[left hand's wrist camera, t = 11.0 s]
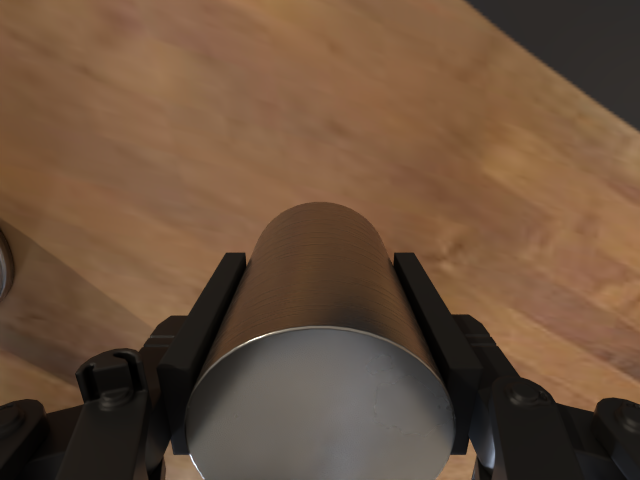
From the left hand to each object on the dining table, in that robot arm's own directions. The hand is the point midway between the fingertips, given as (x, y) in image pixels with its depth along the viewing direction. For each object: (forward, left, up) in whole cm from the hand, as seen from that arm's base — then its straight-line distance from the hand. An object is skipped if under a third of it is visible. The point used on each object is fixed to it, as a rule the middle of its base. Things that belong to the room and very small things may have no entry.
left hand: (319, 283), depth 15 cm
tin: (0, 0, -2) cm, 2 cm away
